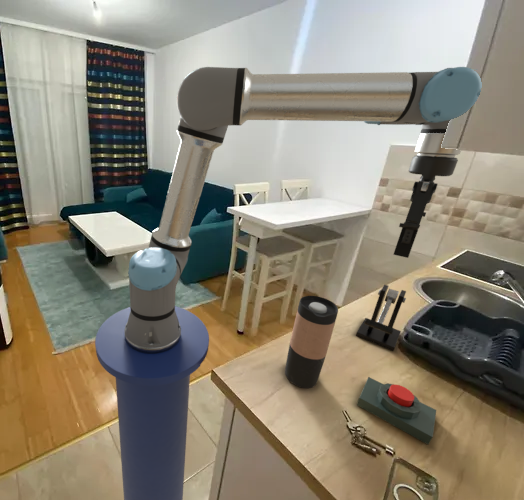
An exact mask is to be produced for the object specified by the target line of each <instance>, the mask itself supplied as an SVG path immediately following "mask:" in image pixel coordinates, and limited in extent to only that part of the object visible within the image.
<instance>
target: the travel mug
mask: <svg viewBox="0 0 524 500" xmlns="http://www.w3.org/2000/svg"><path fill="white" fill-rule="evenodd" d="M338 314H339V307H338V306H337V305H336V304H335V303H334V302H332V301H331V300H329V299H328V298H324V297H322V296H319V295H304V296H302V297H301V298H300V299H299V301H298V305H297V310H296V315H295V319H294V323H293V328H292V331H291V335H290V340H289V346H288V351H287V357H286V361H285V370H284V375H285V377H286V378H287V380H288V381H289V382H290V383H291V384H292V385H295V386H296V387H298V388H302V389H312V388H314V387H315V386H316V385H317V383H318V381H319V377H320V374H321V372H322V369H323V366H324V362H325V360H326V357H327V354H328V350H329V347H330V343H331V340H332V335H333V331H334V327H335V324H336V322H337V321H336V320H337V317H338Z"/></svg>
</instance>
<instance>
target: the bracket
mask: <svg viewBox="0 0 524 500" xmlns="http://www.w3.org/2000/svg"><path fill="white" fill-rule="evenodd" d="M388 290H389V285H388V284H384V285H383V286H382V288H381V289H379V290H378V293H377V295H378V297H377V301H376V303H375V308H374V310H373V312H372V316H371V318H370V320H373V321H376V322H378V319H379V314H380V312H381V309H382V306H383V303H384V302H385V298H386V295H387V293H388ZM406 293H407V291H406V290H403V289H401V290H400V292H399V294H398V296H397V299H396V302H395V304H394V309H393V310H392V313H391V316H390V319H389V321H388V324H387V326H389V327H392V328H394V325H395V322H396V319H397V317H398V314H399V312H400V309H401V307H402V303H403V304H405V302H406V300H407V298H406V297H405V296H406ZM366 318H367V317H365V318H364V320H363V321H362V322H361V324H360V326H359V328H358V329H357V331H356V334H355V336H356V337H358V338H361V339H363V340H366V341H368V342H371V343H373V344H375V345H378V346H380V347H382V348H385V349H387V350H390V351H392V352H394V350H395V347H396V345H397V343H398V340H399V338H400V335H401V330H399V329H396V328H394V330H393V332H392V334H389V333H386V332H384V331H381V330H378V329H376V328H373V327H371V326H368V325H366V324H364V323H365V320H366Z"/></svg>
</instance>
